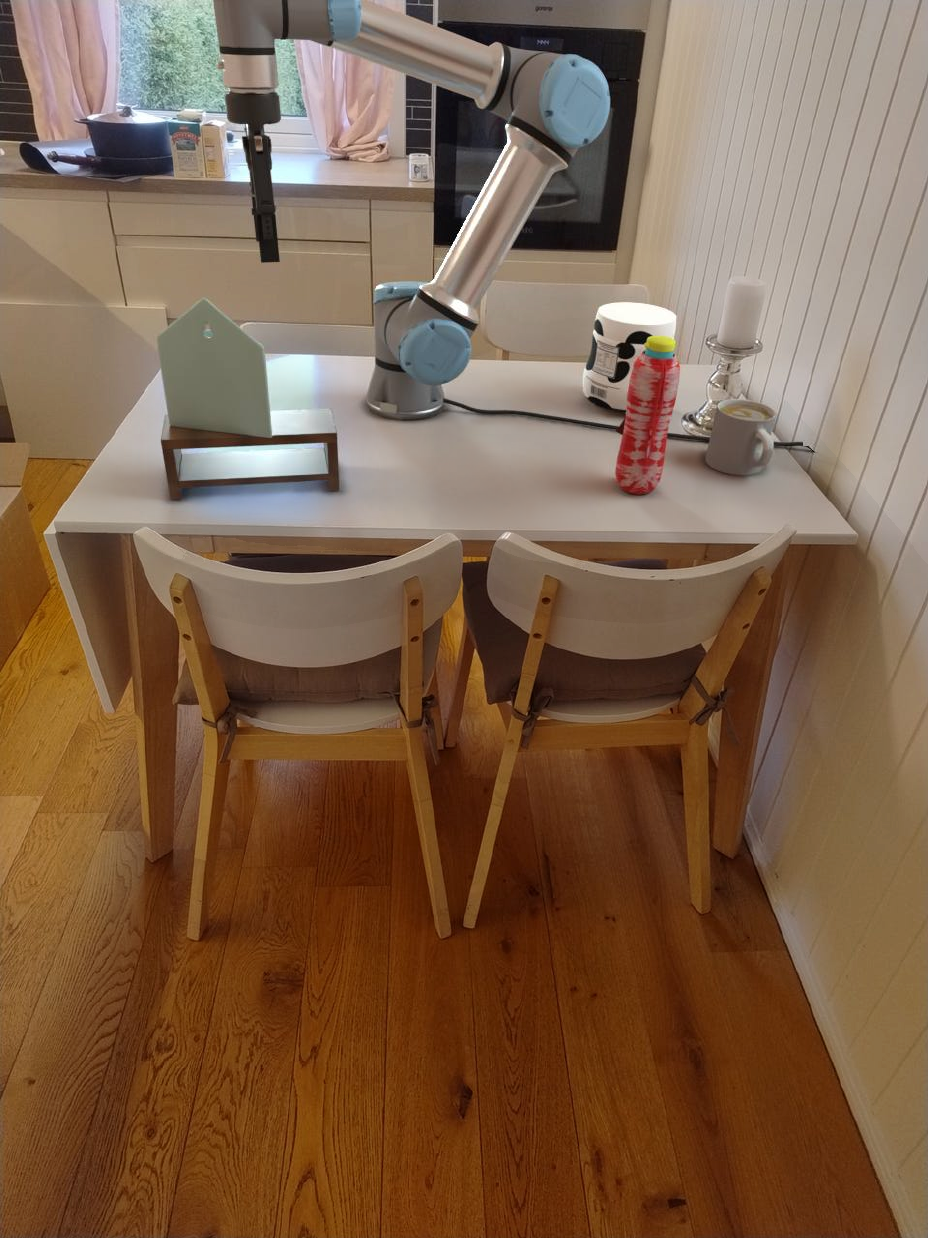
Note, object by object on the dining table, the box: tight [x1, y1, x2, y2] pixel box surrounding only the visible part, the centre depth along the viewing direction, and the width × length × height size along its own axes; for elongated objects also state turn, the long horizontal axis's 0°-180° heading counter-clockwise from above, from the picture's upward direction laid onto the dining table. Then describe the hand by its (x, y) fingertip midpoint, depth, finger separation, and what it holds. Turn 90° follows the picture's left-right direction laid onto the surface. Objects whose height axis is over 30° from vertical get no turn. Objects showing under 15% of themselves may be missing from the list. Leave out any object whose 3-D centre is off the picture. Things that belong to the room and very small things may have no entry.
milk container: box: [582, 301, 677, 414], centre depth 171 cm, size 17×17×18 cm
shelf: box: [160, 408, 341, 501], centre depth 138 cm, size 26×10×10 cm, turn 102°
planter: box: [155, 297, 272, 438], centre depth 130 cm, size 16×8×20 cm, turn 80°
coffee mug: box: [705, 398, 777, 476], centre depth 151 cm, size 13×10×10 cm
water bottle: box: [614, 335, 681, 495], centre depth 140 cm, size 12×8×25 cm, turn 0°
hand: (267, 251), depth 134 cm, fingers open, 13 cm apart
